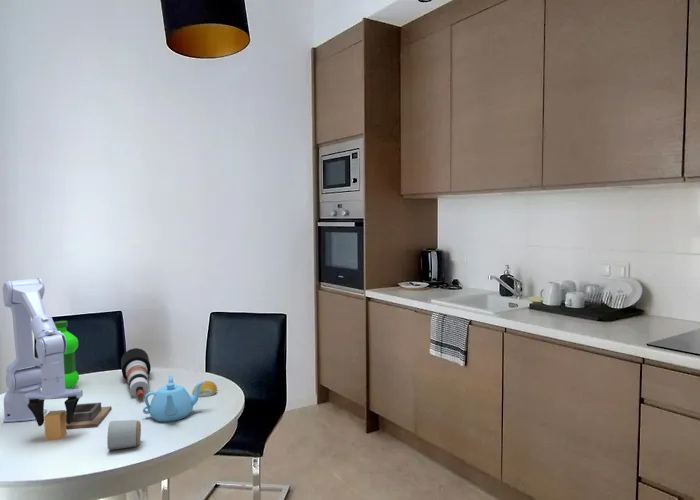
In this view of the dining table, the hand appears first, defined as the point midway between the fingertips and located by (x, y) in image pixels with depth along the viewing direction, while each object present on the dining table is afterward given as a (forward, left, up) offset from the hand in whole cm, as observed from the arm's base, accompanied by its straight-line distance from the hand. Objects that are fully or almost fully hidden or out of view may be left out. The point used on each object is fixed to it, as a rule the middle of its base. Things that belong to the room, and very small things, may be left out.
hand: (55, 423), depth 143 cm
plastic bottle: (-14, +44, -4) cm, 46 cm away
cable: (+13, +40, -4) cm, 42 cm away
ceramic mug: (+21, -9, -4) cm, 23 cm away
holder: (+3, +12, -4) cm, 13 cm away
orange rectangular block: (0, 0, -4) cm, 4 cm away
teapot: (+31, +10, -4) cm, 33 cm away
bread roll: (+38, +29, -4) cm, 48 cm away
